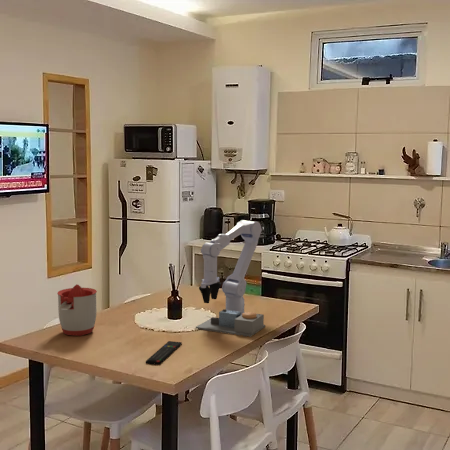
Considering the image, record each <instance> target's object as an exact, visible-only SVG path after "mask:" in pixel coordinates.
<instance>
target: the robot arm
mask: <svg viewBox="0 0 450 450" xmlns="http://www.w3.org/2000/svg"><path fill="white" fill-rule="evenodd" d="M262 232H263V230H262V226H261V223H260V221H252V220H245V219H241V220H240V221H238V222H236V225H235V226H234V227H232V229H230V230H229V231H227V233H219V234H218V235H217V236H216V237H215V238H213V239H211V240H210V241H209V242H207V241H206V242H204V243H203V244H202V246H201V249H200V253H201V254H202V259H203V278H202V279H201V280H200V281H201V283H200V286H199V287H198V289H199V291H200V293H201V296H202V300H203V303H204V304H210V301H211V300H217V298H218V294H219V291H220V289H221V290H222V293H224V296H225V309H226V310H231V311H239V312H241V315H242V313H245V312H246V311H245V298H244V295H245V293H246V290H247V289H246V286H247V284H248V283H247V281H246V279H245V277H246V273H247V272H248V269H249V266H250V264H251V261H252V258H253V256H254V253H255V250H256V248H257V246H258V243H259V239H260V236H261V233H262ZM238 236H241V238H242V239H243V240H244V245H243V247H242V250H241V252H240V255H239V256H238V259H237V262H236V264H235V268H234V270H233V272H232V273H231V274H230V275H228V276H227V277H226V279H225V281H223V282H220V277H219V276H218V256H219V255H220V253H221V251H222V250H223V249H225V248H226V247H228V246H229V245H230V243H231V241H232V240H234V239H235V238H237V237H238ZM210 298H211V299H210Z"/></svg>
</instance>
